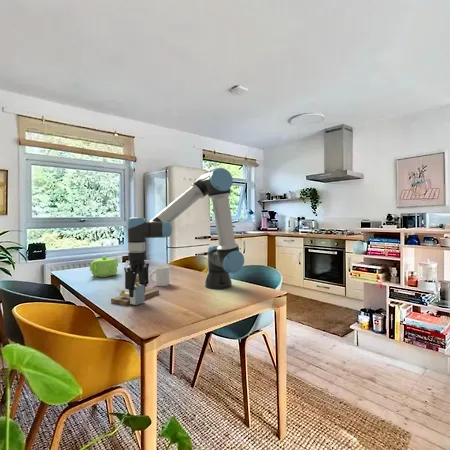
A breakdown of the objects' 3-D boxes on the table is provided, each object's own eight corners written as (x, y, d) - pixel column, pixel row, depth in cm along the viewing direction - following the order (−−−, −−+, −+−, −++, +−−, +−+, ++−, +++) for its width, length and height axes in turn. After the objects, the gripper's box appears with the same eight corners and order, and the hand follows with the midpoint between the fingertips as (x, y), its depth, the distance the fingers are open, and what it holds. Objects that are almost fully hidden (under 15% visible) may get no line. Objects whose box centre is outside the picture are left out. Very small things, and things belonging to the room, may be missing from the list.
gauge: (144, 301, 134) (144, 282, 134) (136, 304, 130) (136, 284, 130) (125, 298, 140) (125, 279, 139) (117, 301, 135) (117, 281, 135)
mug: (152, 288, 162) (151, 269, 162) (146, 285, 169) (146, 267, 169) (171, 285, 169) (171, 267, 169) (166, 282, 176) (165, 265, 176)
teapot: (127, 275, 199) (127, 256, 198) (101, 280, 182) (101, 259, 181) (110, 272, 208) (110, 254, 208) (84, 277, 192) (83, 257, 191)
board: (158, 293, 150) (158, 289, 150) (127, 305, 131) (126, 301, 131) (144, 291, 155) (143, 287, 155) (111, 302, 135) (110, 298, 135)
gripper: (144, 249, 142) (144, 296, 143) (115, 253, 126) (116, 306, 127) (156, 249, 139) (156, 298, 139) (128, 254, 123) (128, 309, 123)
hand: (137, 302), depth 133 cm, fingers closed on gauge, 5 cm apart
